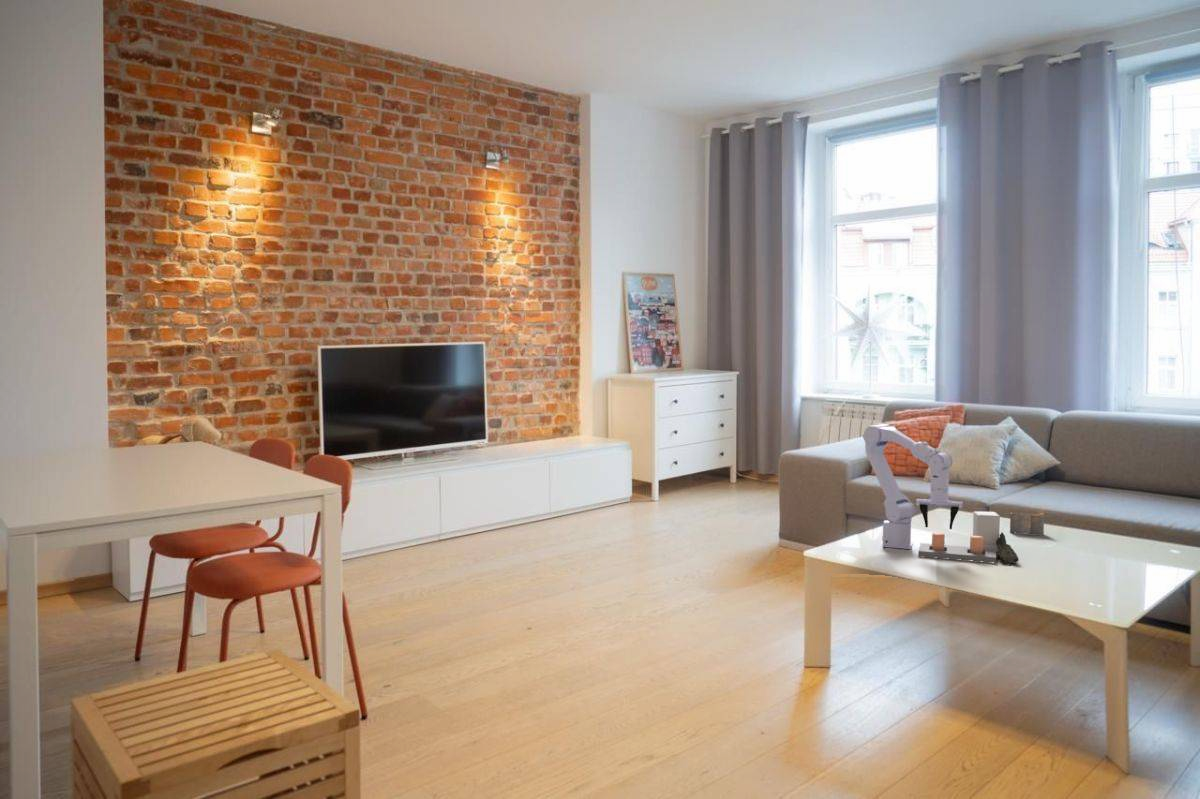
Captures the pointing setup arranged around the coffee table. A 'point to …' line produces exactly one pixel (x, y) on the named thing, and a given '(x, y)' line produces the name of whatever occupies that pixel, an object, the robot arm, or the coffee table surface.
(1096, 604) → the coffee table surface
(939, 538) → the pin
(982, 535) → the supplement box
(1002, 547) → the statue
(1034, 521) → the ruin model on sheet
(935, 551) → the pegboard
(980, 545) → the pin
